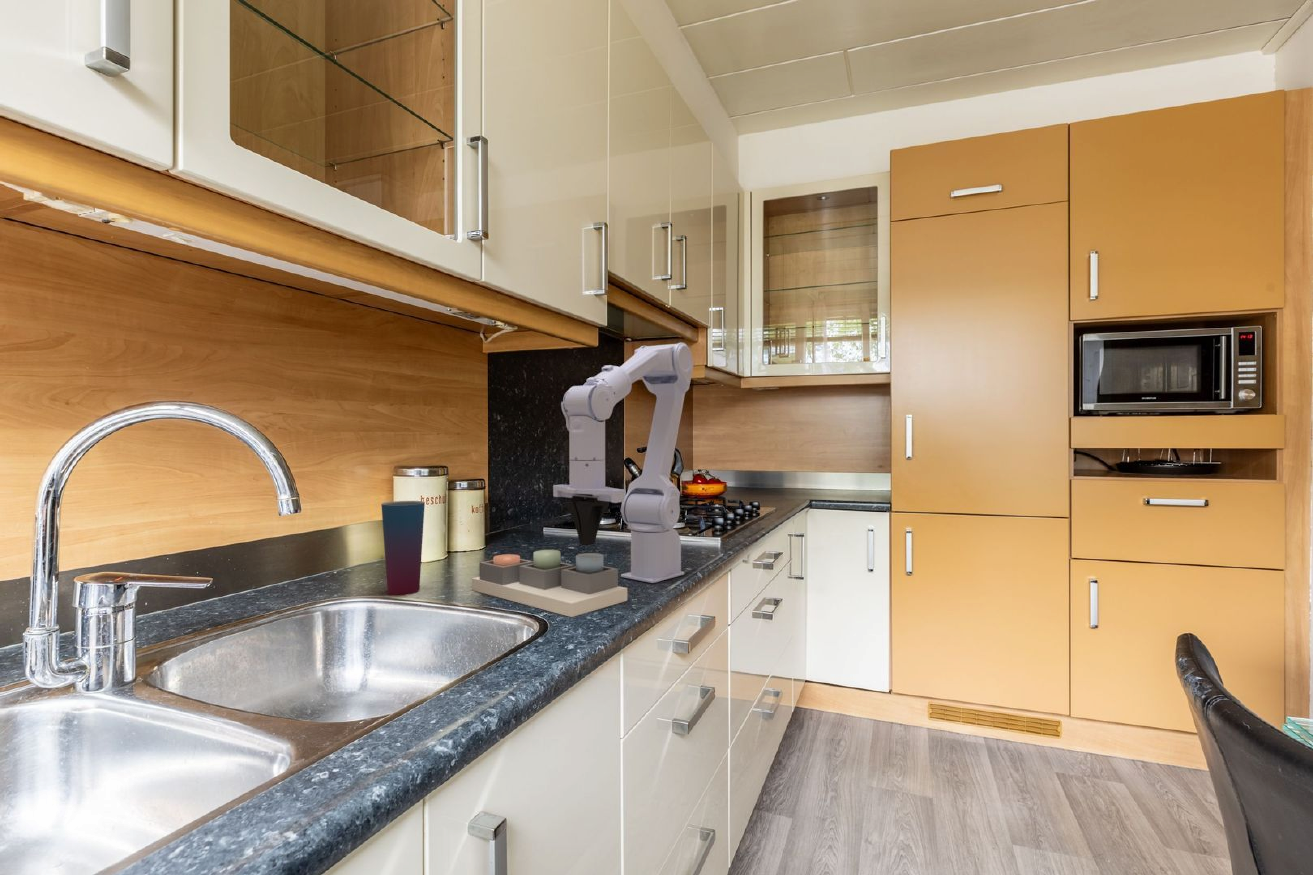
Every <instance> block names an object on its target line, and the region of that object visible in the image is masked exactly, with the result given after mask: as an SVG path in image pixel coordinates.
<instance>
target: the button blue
mask: <svg viewBox="0 0 1313 875" xmlns="http://www.w3.org/2000/svg"><path fill="white" fill-rule="evenodd" d="M603 566H604V554H602V553H597V552H587V553H585V552H583V553H579V554H577V555H575V567H576V572H580V573H585V574H592V573H597V572H602V571H603Z"/></svg>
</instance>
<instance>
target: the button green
mask: <svg viewBox="0 0 1313 875" xmlns="http://www.w3.org/2000/svg"><path fill="white" fill-rule="evenodd" d="M532 553H533V562H534V568H536V569H541V570H549V569H554V568H559V567H560V562H561V551H560V550H557V549H556V550H555V549H541V550H536V551H534V552H532Z"/></svg>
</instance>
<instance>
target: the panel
mask: <svg viewBox="0 0 1313 875" xmlns="http://www.w3.org/2000/svg"><path fill="white" fill-rule="evenodd" d="M471 590H472V591H473V592H478V593H482V594H485V595H489V596H492V597H496V598H500V599H503V600H507V601H510V602H515V603H518V604H522V605H525V606H529V607H532V608H537V609H541V610H544V611H548V612H551V613H554V614H558V615H563V616H566V617H569V618H574V617H576V616H580V615H584V614H587V613H591V612H593V611H597V610H601V609H604V608H607V607H610V606H614V605H617V604H621V603H625V602H628V587H623V586H619V569H618V568H615V567H611V566H610V567H609V566H605V565H603V571H602V572H597V573H592V574H585V573H580V572H576V564H570V563H565V562H561V561H560V567H559V568H554V569H549V570H541V569H536V568H534V560H533V561H532V560H528V559H523V558H522V559H521V558H520V563H519V564H514V565H509V566H504V567H503V566H499V565H494V564H493V559H491V560H487V561H485V560H484V561H481V562H479V576H476V577H472V578H471Z"/></svg>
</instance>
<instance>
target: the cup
mask: <svg viewBox="0 0 1313 875" xmlns="http://www.w3.org/2000/svg"><path fill="white" fill-rule="evenodd" d="M425 505H426V504H425V501H422V500H397V501H396V500H395V501H386V502H383V503H381V515H382V518H381V519H382V531H383V547H384V560H385V561H384V562H385V563H384V564H385V573H386V574H385V575H386V577H385V578H386V588H387V589H386V591H387V594H388V595H391V596H405V595H413V594H415V593H417V592H419V591H420V588H421V587H420V583H421V572H422V571H421V570H422V569H421V568H422V555H423V554H422V552H423V550H422V549H423V537H424V522H425V521H424V520H425V518H424V517H425Z"/></svg>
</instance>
